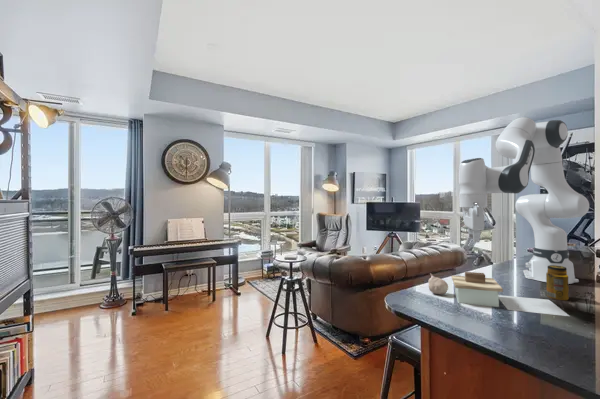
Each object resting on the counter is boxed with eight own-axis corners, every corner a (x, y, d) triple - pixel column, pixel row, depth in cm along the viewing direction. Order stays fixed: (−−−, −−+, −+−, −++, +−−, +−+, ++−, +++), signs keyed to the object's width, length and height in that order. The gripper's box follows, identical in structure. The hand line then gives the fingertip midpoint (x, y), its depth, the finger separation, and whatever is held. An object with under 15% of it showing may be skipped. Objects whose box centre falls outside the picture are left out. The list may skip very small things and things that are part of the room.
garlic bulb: (438, 290, 118) (438, 271, 118) (451, 295, 112) (451, 274, 112) (425, 292, 116) (425, 272, 116) (437, 297, 109) (437, 276, 110)
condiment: (573, 300, 104) (572, 266, 104) (565, 305, 100) (564, 270, 100) (547, 294, 110) (546, 263, 111) (539, 299, 106) (538, 266, 106)
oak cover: (451, 277, 114) (451, 267, 114) (493, 281, 109) (493, 270, 109) (455, 287, 102) (455, 276, 102) (502, 291, 96) (502, 279, 96)
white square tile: (496, 296, 109) (496, 294, 109) (548, 301, 103) (548, 299, 103) (507, 311, 95) (507, 309, 95) (570, 318, 89) (570, 316, 89)
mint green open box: (455, 294, 113) (454, 278, 113) (491, 297, 108) (490, 281, 108) (458, 304, 102) (458, 287, 102) (499, 308, 97) (498, 290, 97)
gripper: (489, 202, 95) (490, 244, 95) (477, 202, 114) (478, 237, 114) (467, 203, 97) (468, 244, 97) (459, 202, 116) (460, 236, 116)
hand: (474, 240), depth 105 cm, fingers open, 8 cm apart
